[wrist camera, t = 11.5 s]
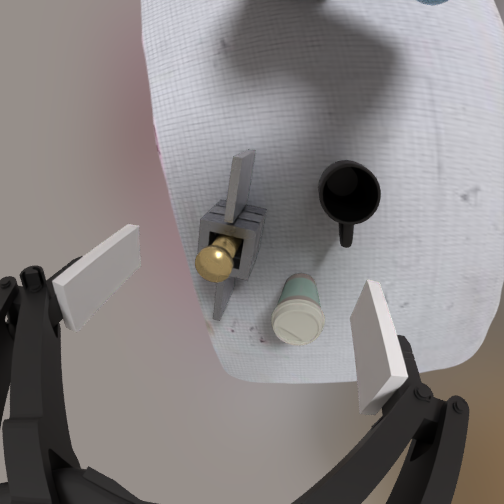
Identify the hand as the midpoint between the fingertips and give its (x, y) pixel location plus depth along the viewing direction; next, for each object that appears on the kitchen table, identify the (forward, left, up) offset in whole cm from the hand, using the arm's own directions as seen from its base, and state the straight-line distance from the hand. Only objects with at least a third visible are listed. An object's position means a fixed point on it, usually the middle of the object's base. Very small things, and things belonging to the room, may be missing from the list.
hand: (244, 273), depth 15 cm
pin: (+11, -6, -32) cm, 34 cm away
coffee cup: (+20, +7, -32) cm, 38 cm away
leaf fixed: (+16, -6, -32) cm, 36 cm away
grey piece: (+6, -6, -32) cm, 33 cm away
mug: (+1, +9, -32) cm, 33 cm away
